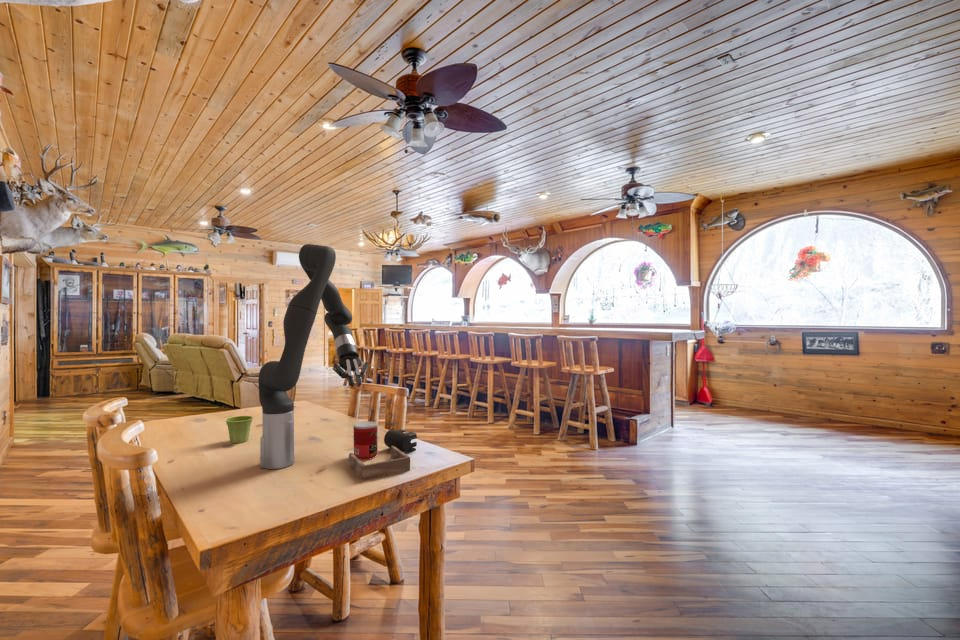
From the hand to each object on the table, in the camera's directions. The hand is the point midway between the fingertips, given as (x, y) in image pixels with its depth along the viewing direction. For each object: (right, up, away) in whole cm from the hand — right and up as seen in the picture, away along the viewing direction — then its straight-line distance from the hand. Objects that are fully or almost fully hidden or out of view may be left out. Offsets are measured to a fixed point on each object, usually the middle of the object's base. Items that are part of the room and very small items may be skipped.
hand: (355, 385), depth 154 cm
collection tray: (+12, -23, -18) cm, 32 cm away
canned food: (+5, -23, -7) cm, 25 cm away
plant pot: (-47, -23, +10) cm, 53 cm away
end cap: (+16, -23, 0) cm, 28 cm away
